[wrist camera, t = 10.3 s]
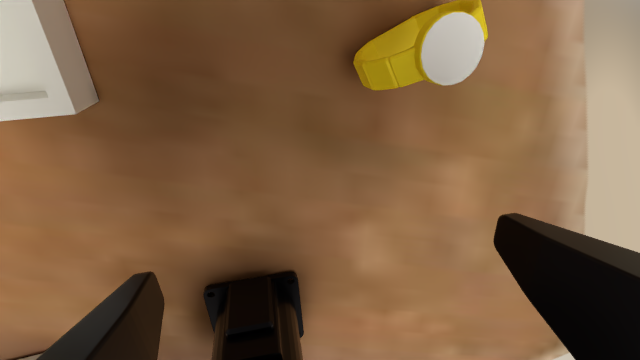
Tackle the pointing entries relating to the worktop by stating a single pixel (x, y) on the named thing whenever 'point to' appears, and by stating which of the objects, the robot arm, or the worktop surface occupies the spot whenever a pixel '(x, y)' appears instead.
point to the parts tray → (41, 62)
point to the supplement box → (31, 357)
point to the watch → (426, 48)
